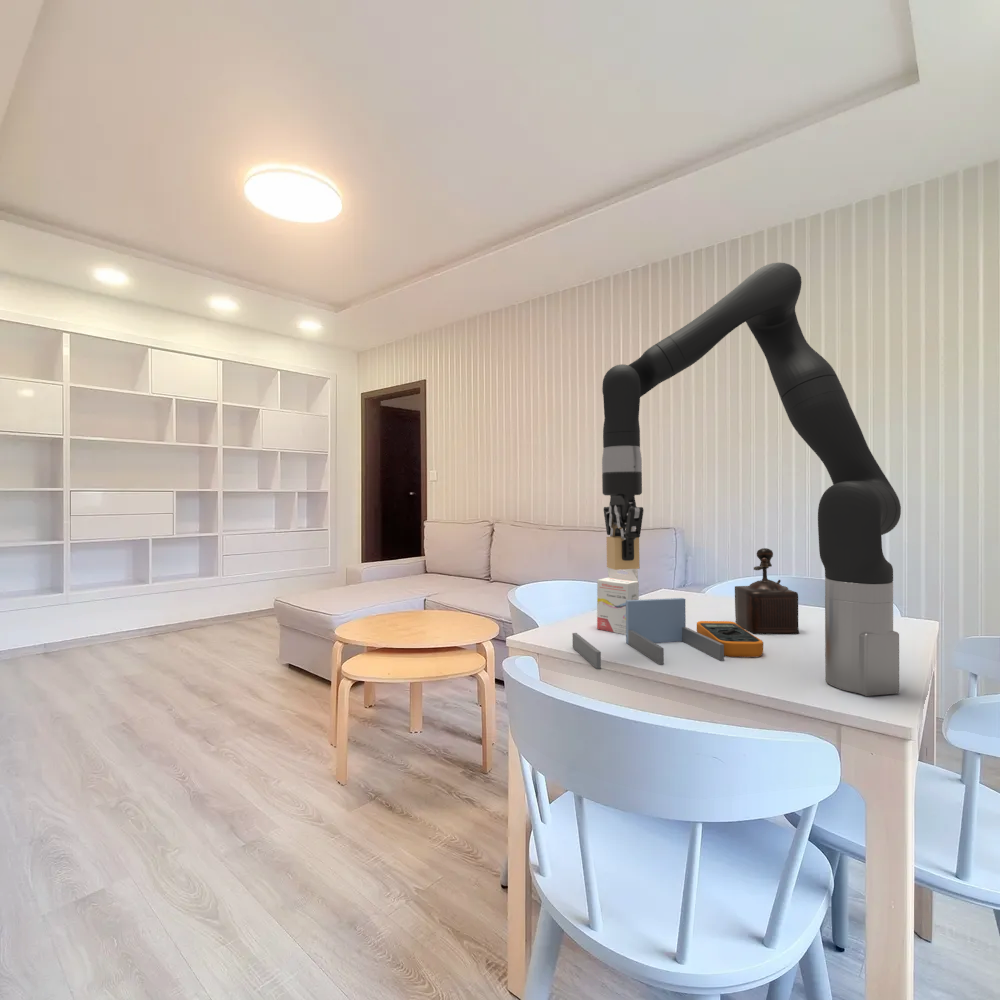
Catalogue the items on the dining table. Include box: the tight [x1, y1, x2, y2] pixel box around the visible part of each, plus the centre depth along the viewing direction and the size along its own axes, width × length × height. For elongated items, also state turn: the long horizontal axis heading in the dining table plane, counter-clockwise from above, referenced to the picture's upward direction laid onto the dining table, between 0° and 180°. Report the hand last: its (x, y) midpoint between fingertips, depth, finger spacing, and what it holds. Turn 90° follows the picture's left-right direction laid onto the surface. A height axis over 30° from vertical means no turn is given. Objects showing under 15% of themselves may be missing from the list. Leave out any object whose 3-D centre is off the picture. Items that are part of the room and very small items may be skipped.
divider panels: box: [572, 597, 725, 670], centre depth 107 cm, size 15×25×9 cm, turn 100°
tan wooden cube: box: [606, 536, 640, 570], centre depth 105 cm, size 4×5×6 cm
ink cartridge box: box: [596, 567, 640, 636], centre depth 125 cm, size 9×5×15 cm, turn 47°
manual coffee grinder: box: [734, 547, 800, 635], centre depth 128 cm, size 16×11×18 cm
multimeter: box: [696, 620, 764, 658], centre depth 112 cm, size 9×18×3 cm, turn 175°
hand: (622, 558), depth 105 cm, fingers closed on tan wooden cube, 4 cm apart
